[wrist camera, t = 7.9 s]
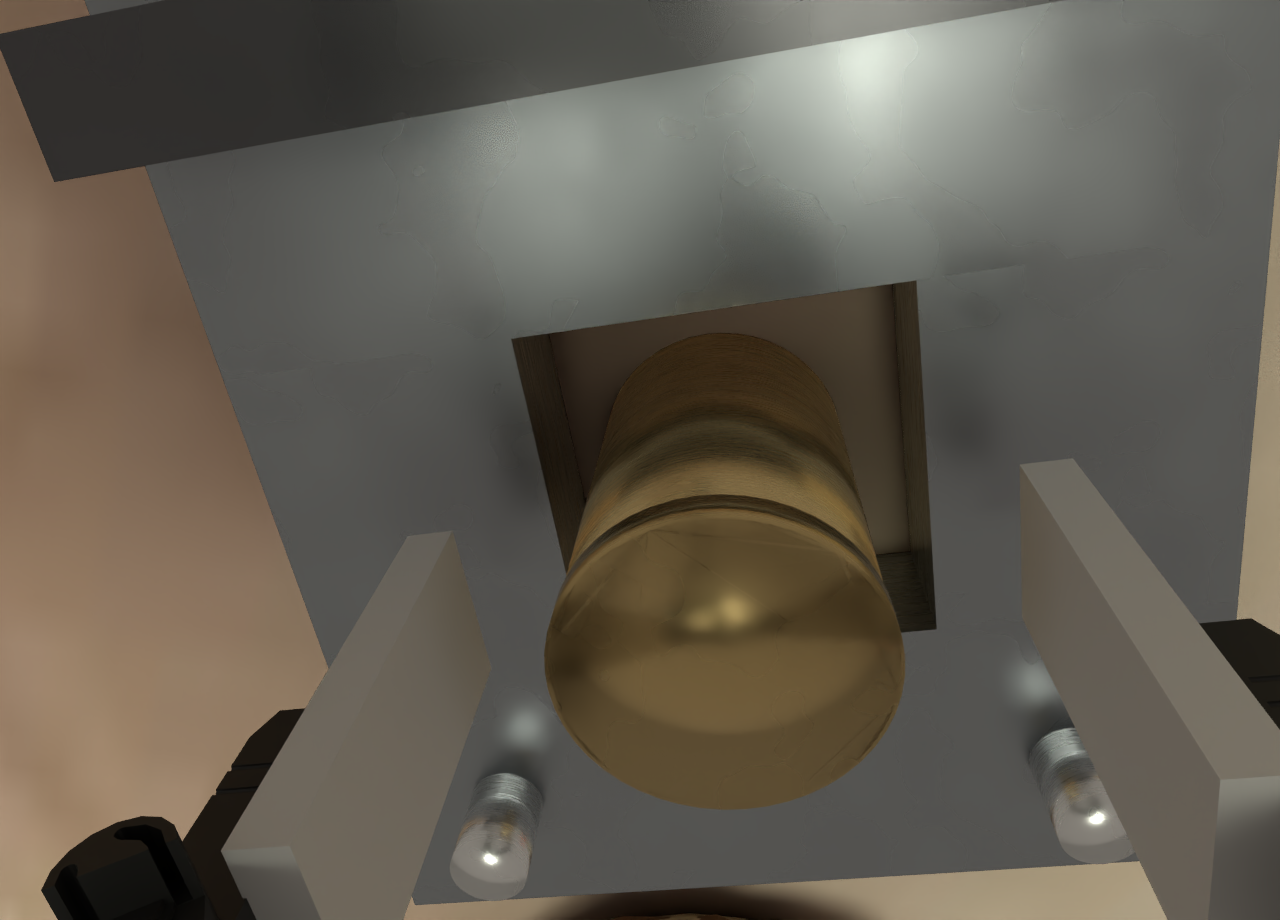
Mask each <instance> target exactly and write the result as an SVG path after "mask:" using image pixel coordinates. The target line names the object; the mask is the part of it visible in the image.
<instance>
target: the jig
mask: <svg viewBox="0 0 1280 920" xmlns="http://www.w3.org/2000/svg"><path fill="white" fill-rule="evenodd" d="M85 3H86V6H87V8H88V11H89V14H90V16H85V17H80V18H75V19H70V20H65V21H61V22H56V23H51V24H46V25H41V26H36V27H31V28H27V29H22V30H17V31H12V32H7V33H2V34H0V49H1V51H2V54H3V56H4V59H5V61H6V64H7V66H8V69H9V71H10V74H11V76H12V79H13V81H14V84H15V86H16V89H17V91H18V94H19V96H20V98H21V101H22V103H23V106H24V108H25V111H26V113H27V116H28V118H29V121H30V123H31V126H32V128H33V131H34V133H35V136H36V138H37V140H38V143H39V145H40V148H41V150H42V153H43V155H44V158H45V160H46V163H47V165H48V168H49V170H50V173H51V175H52V178H53V180H54V182H58V181H63V180H69V179H74V178H80V177H86V176H91V175H97V174H102V173H108V172H113V171H119V170H124V169H130V168H136V167H141V166H145V167H146V170H147V173H148V175H149V178H150V181H151V184H152V186H153V189H154V192H155V194H156V197H157V200H158V203H159V205H160V208H161V211H162V214H163V216H164V219H165V222H166V225H167V227H168V230H169V233H170V236H171V238H172V241H173V244H174V246H175V249H176V252H177V255H178V257H179V260H180V263H181V266H182V268H183V271H184V274H185V277H186V279H187V282H188V285H189V288H190V290H191V293H192V296H193V298H194V301H195V304H196V307H197V309H198V312H199V315H200V318H201V320H202V323H203V326H204V329H205V331H206V334H207V337H208V340H209V342H210V345H211V348H212V350H213V353H214V356H215V359H216V361H217V364H218V367H219V370H220V372H221V375H222V378H223V381H224V383H225V386H226V389H227V392H228V394H229V397H230V400H231V402H232V405H233V408H234V411H235V413H236V416H237V419H238V422H239V424H240V427H241V430H242V433H243V435H244V438H245V441H246V444H247V446H248V449H249V452H250V454H251V457H252V460H253V463H254V465H255V468H256V471H257V474H258V476H259V479H260V482H261V485H262V487H263V490H264V493H265V496H266V498H267V501H268V504H269V506H270V509H271V512H272V515H273V517H274V520H275V523H276V526H277V528H278V531H279V534H280V537H281V539H282V542H283V545H284V548H285V550H286V553H287V556H288V558H289V561H290V564H291V567H292V569H293V572H294V575H295V578H296V580H297V583H298V586H299V589H300V591H301V594H302V597H303V600H304V602H305V605H306V608H307V610H308V613H309V616H310V619H311V621H312V624H313V627H314V630H315V632H316V635H317V638H318V641H319V643H320V646H321V649H322V652H323V654H324V657H325V660H326V662H327V665H328V668H330V666H331V664H332V663H333V661H334V659H335V658H336V656H337V654H338V653H339V651H340V649H341V648H342V646H343V644H344V643H345V641H346V639H347V638H348V636H349V634H350V632H351V631H352V629H353V627H354V626H355V624H356V622H357V621H358V619H359V617H360V616H361V614H362V612H363V611H364V609H365V607H366V606H367V604H368V602H369V600H370V599H371V597H372V595H373V594H374V592H375V590H376V589H377V587H378V585H379V584H380V582H381V580H382V579H383V577H384V575H385V574H386V572H387V570H388V568H389V567H390V565H391V563H392V562H393V560H394V558H395V557H396V555H397V553H398V552H399V550H400V548H401V547H402V545H403V543H404V542H405V540H406V538H407V536H411V535H420V534H428V533H437V532H446V531H453V535H454V538H455V542H456V545H457V549H458V552H459V556H460V559H461V563H462V566H463V570H464V573H465V577H466V580H467V584H468V588H469V591H470V595H471V598H472V602H473V605H474V609H475V612H476V616H477V619H478V623H479V626H480V630H481V633H482V637H483V640H484V644H485V648H486V651H487V655H488V658H489V662H490V665H491V671H490V674H489V676H488V679H487V682H486V685H485V688H484V691H483V693H482V696H481V699H480V702H479V705H478V708H477V711H476V713H475V716H474V719H473V722H472V725H471V728H470V731H469V733H468V736H467V739H466V742H465V745H464V748H463V750H462V753H461V756H460V759H459V762H458V765H457V768H456V770H455V773H454V776H453V779H452V782H451V785H450V788H449V790H448V793H447V796H446V799H445V802H444V805H443V808H442V810H441V813H440V816H439V819H438V822H437V825H436V827H435V830H434V833H433V836H432V839H431V842H430V845H429V847H428V850H427V853H426V856H425V859H424V862H423V865H422V867H421V870H420V873H419V876H418V879H417V882H416V884H415V887H414V890H413V893H412V898H413V901H414V903H415V905H425V904H441V903H458V902H474V901H499V900H507V899H523V898H540V897H556V896H573V895H589V894H606V893H622V892H639V891H655V890H672V889H688V888H704V887H721V886H737V885H754V884H770V883H787V882H803V881H820V880H836V879H853V878H869V877H885V876H902V875H918V874H935V873H951V872H968V871H984V870H1001V869H1017V868H1034V867H1050V866H1066V865H1083V864H1107V863H1116V862H1132V861H1139V859H1138V857H1137V855H1136V853H1135V851H1134V849H1133V847H1132V845H1131V842H1130V840H1129V838H1128V836H1127V834H1126V832H1125V830H1124V828H1123V826H1122V824H1121V822H1120V820H1119V818H1118V815H1117V813H1116V811H1115V809H1114V807H1113V805H1112V803H1111V801H1110V799H1109V797H1108V795H1107V793H1106V791H1105V788H1104V786H1103V784H1102V782H1101V780H1100V778H1099V776H1098V774H1097V772H1096V770H1095V768H1094V766H1093V764H1092V762H1091V759H1090V757H1089V755H1088V753H1087V751H1086V749H1085V747H1084V745H1083V743H1082V741H1081V739H1080V737H1079V735H1078V732H1077V730H1076V728H1075V726H1074V724H1073V722H1072V720H1071V718H1070V716H1069V714H1068V712H1067V710H1066V708H1065V706H1064V703H1063V701H1062V699H1061V697H1060V695H1059V693H1058V691H1057V689H1056V687H1055V685H1054V683H1053V681H1052V679H1051V676H1050V674H1049V672H1048V670H1047V668H1046V666H1045V664H1044V662H1043V660H1042V658H1041V656H1040V654H1039V652H1038V649H1037V647H1036V645H1035V643H1034V641H1033V639H1032V637H1031V635H1030V633H1029V631H1028V629H1027V627H1026V625H1025V623H1024V620H1023V618H1022V578H1021V514H1020V464H1028V463H1037V462H1045V461H1054V460H1062V459H1071V458H1073V459H1074V460H1075V462H1076V463H1077V464H1078V466H1079V467H1080V468H1081V469H1082V471H1083V472H1084V473H1085V475H1086V476H1087V477H1088V479H1089V480H1090V481H1091V483H1092V484H1093V485H1094V487H1095V488H1096V489H1097V490H1098V492H1099V493H1100V494H1101V496H1102V497H1103V498H1104V500H1105V501H1106V502H1107V504H1108V505H1109V506H1110V508H1111V509H1112V510H1113V511H1114V513H1115V514H1116V515H1117V517H1118V518H1119V519H1120V521H1121V522H1122V523H1123V525H1124V526H1125V527H1126V529H1127V530H1128V531H1129V533H1130V534H1131V535H1132V536H1133V538H1134V539H1135V540H1136V542H1137V543H1138V544H1139V546H1140V547H1141V548H1142V550H1143V551H1144V552H1145V554H1146V555H1147V556H1148V557H1149V559H1150V560H1151V561H1152V563H1153V564H1154V565H1155V567H1156V568H1157V569H1158V571H1159V572H1160V573H1161V575H1162V576H1163V577H1164V578H1165V580H1166V581H1167V582H1168V584H1169V585H1170V586H1171V588H1172V589H1173V590H1174V592H1175V593H1176V594H1177V596H1178V597H1179V598H1180V599H1181V601H1182V602H1183V603H1184V605H1185V606H1186V607H1187V609H1188V610H1189V611H1190V613H1191V614H1192V615H1193V617H1194V618H1195V619H1196V620H1197V622H1198V623H1207V622H1218V621H1229V620H1236V618H1237V607H1238V595H1239V584H1240V573H1241V562H1242V551H1243V540H1244V529H1245V517H1246V506H1247V495H1248V484H1249V473H1250V462H1251V451H1252V440H1253V428H1254V417H1255V406H1256V395H1257V384H1258V373H1259V362H1260V350H1261V339H1262V328H1263V317H1264V306H1265V295H1266V284H1267V273H1268V261H1269V250H1270V239H1271V228H1272V217H1273V206H1274V195H1275V183H1276V172H1277V161H1278V150H1279V139H1280V0H85ZM887 284H892V286H893V301H894V315H895V330H896V345H897V359H898V374H899V389H900V403H901V418H902V433H903V448H904V462H905V477H906V492H907V506H908V521H909V536H910V550H911V552H903V553H893V554H884V555H876V558H877V562H878V565H879V569H880V572H881V576H882V580H883V583H884V585H885V587H886V588H887V590H888V592H889V595H890V598H891V601H892V604H893V607H894V610H895V613H896V617H897V620H898V624H899V628H900V631H901V635H902V639H903V646H904V652H905V679H904V685H903V691H902V696H901V699H900V702H899V705H898V708H897V711H896V714H895V716H894V718H893V720H892V721H891V723H890V725H889V727H888V729H887V731H886V732H885V734H884V735H883V737H882V738H881V739H880V741H879V742H878V744H877V745H876V746H875V748H874V749H873V750H872V751H871V752H870V753H869V754H868V755H867V756H866V757H865V758H864V759H863V760H862V761H861V762H860V763H859V764H858V765H856V766H855V767H854V768H853V769H851V770H850V771H849V772H848V773H846V774H845V775H844V776H842V777H840V778H839V779H837V780H836V781H834V782H832V783H831V784H829V785H827V786H825V787H823V788H821V789H819V790H817V791H815V792H813V793H811V794H809V795H806V796H803V797H800V798H797V799H794V800H791V801H788V802H784V803H780V804H776V805H771V806H767V807H759V808H751V809H735V810H719V809H706V808H698V807H692V806H686V805H680V804H677V803H673V802H670V801H666V800H662V799H659V798H656V797H654V796H651V795H649V794H646V793H644V792H641V791H639V790H637V789H635V788H633V787H631V786H629V785H627V784H625V783H623V782H622V781H620V780H618V779H617V778H615V777H614V776H612V775H611V774H609V773H608V772H606V771H605V770H603V769H602V768H601V767H600V766H599V765H598V764H596V763H595V762H594V761H593V760H592V759H591V758H589V757H588V756H587V755H586V754H585V753H584V751H583V750H582V749H581V748H580V747H579V746H578V745H577V744H576V743H575V742H574V740H573V739H572V737H571V736H570V735H569V733H568V732H567V730H566V729H565V727H564V726H563V724H562V722H561V720H560V718H559V716H558V714H557V713H556V711H555V709H554V706H553V703H552V700H551V697H550V694H549V691H548V687H547V682H546V676H545V664H544V650H545V643H546V636H547V631H548V627H549V624H550V620H551V617H552V613H553V609H554V606H555V603H556V600H557V596H558V593H559V590H560V588H561V586H562V584H563V582H564V580H565V578H566V575H567V571H568V568H569V564H570V560H571V557H572V553H573V549H574V546H575V542H576V538H577V535H578V531H579V527H580V524H581V520H582V516H583V513H584V509H585V505H586V503H585V498H584V493H583V489H582V484H581V480H580V475H579V470H578V466H577V461H576V457H575V452H574V448H573V443H572V438H571V434H570V429H569V425H568V420H567V415H566V411H565V406H564V402H563V397H562V392H561V388H560V383H559V379H558V374H557V369H556V365H555V360H554V356H553V351H552V346H551V342H550V337H549V333H555V332H562V331H569V330H576V329H582V328H589V327H596V326H603V325H610V324H617V323H624V322H631V321H638V320H645V319H652V318H659V317H666V316H672V315H679V314H686V313H693V312H700V311H707V310H714V309H721V308H728V307H735V306H742V305H749V304H756V303H763V302H769V301H776V300H783V299H790V298H797V297H804V296H811V295H818V294H825V293H832V292H839V291H846V290H853V289H859V288H866V287H873V286H880V285H887Z"/></svg>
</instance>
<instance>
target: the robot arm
mask: <svg viewBox="0 0 1280 920" xmlns="http://www.w3.org/2000/svg"><path fill="white" fill-rule="evenodd" d="M1020 514H1021V578H1022V618H1023V620H1024V623H1025V625H1026V627H1027V629H1028V631H1029V633H1030V635H1031V637H1032V639H1033V641H1034V643H1035V645H1036V647H1037V649H1038V652H1039V654H1040V656H1041V658H1042V660H1043V662H1044V664H1045V666H1046V668H1047V670H1048V672H1049V674H1050V676H1051V679H1052V681H1053V683H1054V685H1055V687H1056V689H1057V691H1058V693H1059V695H1060V697H1061V699H1062V701H1063V703H1064V706H1065V708H1066V710H1067V712H1068V714H1069V716H1070V718H1071V720H1072V722H1073V724H1074V726H1075V728H1076V730H1077V732H1078V735H1079V737H1080V739H1081V741H1082V743H1083V745H1084V747H1085V749H1086V751H1087V753H1088V755H1089V757H1090V759H1091V762H1092V764H1093V766H1094V768H1095V770H1096V772H1097V774H1098V776H1099V778H1100V780H1101V782H1102V784H1103V786H1104V788H1105V791H1106V793H1107V795H1108V797H1109V799H1110V801H1111V803H1112V805H1113V807H1114V809H1115V811H1116V813H1117V815H1118V818H1119V820H1120V822H1121V824H1122V826H1123V828H1124V830H1125V832H1126V834H1127V836H1128V838H1129V840H1130V842H1131V845H1132V847H1133V849H1134V851H1135V853H1136V855H1137V857H1138V859H1139V861H1140V863H1141V865H1142V867H1143V869H1144V871H1145V874H1146V876H1147V878H1148V880H1149V882H1150V884H1151V886H1152V888H1153V890H1154V892H1155V894H1156V896H1157V898H1158V901H1159V903H1160V905H1161V907H1162V909H1163V911H1164V913H1165V915H1166V917H1167V919H1168V920H1280V635H1279V634H1277V633H1275V632H1274V631H1272V630H1270V629H1268V628H1267V627H1265V626H1263V625H1261V624H1260V623H1258V622H1256V621H1254V620H1253V619H1240V620H1229V621H1218V622H1207V623H1198V622H1197V620H1196V619H1195V618H1194V617H1193V615H1192V614H1191V613H1190V611H1189V610H1188V609H1187V607H1186V606H1185V605H1184V603H1183V602H1182V601H1181V599H1180V598H1179V597H1178V596H1177V594H1176V593H1175V592H1174V590H1173V589H1172V588H1171V586H1170V585H1169V584H1168V582H1167V581H1166V580H1165V578H1164V577H1163V576H1162V575H1161V573H1160V572H1159V571H1158V569H1157V568H1156V567H1155V565H1154V564H1153V563H1152V561H1151V560H1150V559H1149V557H1148V556H1147V555H1146V554H1145V552H1144V551H1143V550H1142V548H1141V547H1140V546H1139V544H1138V543H1137V542H1136V540H1135V539H1134V538H1133V536H1132V535H1131V534H1130V533H1129V531H1128V530H1127V529H1126V527H1125V526H1124V525H1123V523H1122V522H1121V521H1120V519H1119V518H1118V517H1117V515H1116V514H1115V513H1114V511H1113V510H1112V509H1111V508H1110V506H1109V505H1108V504H1107V502H1106V501H1105V500H1104V498H1103V497H1102V496H1101V494H1100V493H1099V492H1098V490H1097V489H1096V488H1095V487H1094V485H1093V484H1092V483H1091V481H1090V480H1089V479H1088V477H1087V476H1086V475H1085V473H1084V472H1083V471H1082V469H1081V468H1080V467H1079V466H1078V464H1077V463H1076V462H1075V460H1074V459H1073V458H1071V459H1062V460H1054V461H1045V462H1037V463H1028V464H1020ZM490 671H491V665H490V662H489V658H488V655H487V651H486V648H485V644H484V640H483V637H482V633H481V630H480V626H479V623H478V619H477V616H476V612H475V609H474V605H473V602H472V598H471V595H470V591H469V588H468V584H467V580H466V577H465V573H464V570H463V566H462V563H461V559H460V556H459V552H458V549H457V545H456V542H455V538H454V535H453V531H446V532H437V533H428V534H420V535H411V536H407V538H406V540H405V542H404V543H403V545H402V547H401V548H400V550H399V552H398V553H397V555H396V557H395V558H394V560H393V562H392V563H391V565H390V567H389V568H388V570H387V572H386V574H385V575H384V577H383V579H382V580H381V582H380V584H379V585H378V587H377V589H376V590H375V592H374V594H373V595H372V597H371V599H370V600H369V602H368V604H367V606H366V607H365V609H364V611H363V612H362V614H361V616H360V617H359V619H358V621H357V622H356V624H355V626H354V627H353V629H352V631H351V632H350V634H349V636H348V638H347V639H346V641H345V643H344V644H343V646H342V648H341V649H340V651H339V653H338V654H337V656H336V658H335V659H334V661H333V663H332V664H331V666H330V668H329V669H328V671H327V673H326V675H325V676H324V678H323V680H322V681H321V683H320V685H319V686H318V688H317V690H316V691H315V693H314V695H313V696H312V698H311V700H310V701H309V703H308V705H307V707H306V708H303V709H293V710H282V711H279V712H278V713H277V714H276V715H274V716H273V717H272V718H271V719H270V720H269V721H268V722H266V723H265V724H264V725H263V726H262V727H261V728H260V729H259V730H257V731H256V732H255V733H254V734H253V735H252V736H251V737H250V738H249V739H248V741H247V742H246V744H245V745H244V747H243V748H242V750H241V752H240V753H239V755H238V756H237V758H236V759H235V761H234V762H233V764H232V766H231V767H232V770H231V771H228V772H227V773H226V775H225V776H224V778H223V779H222V781H221V783H220V784H219V786H218V787H217V789H216V791H217V792H216V795H212V796H211V798H210V800H209V801H208V803H207V804H206V806H205V807H204V809H203V810H202V812H201V813H200V815H199V817H198V818H197V820H196V821H195V823H194V824H193V826H192V827H191V829H190V830H189V832H188V834H187V835H186V837H185V838H184V840H183V841H182V840H181V838H180V836H179V834H178V832H177V830H176V828H175V826H174V824H172V823H170V822H169V821H167V820H165V819H164V818H162V817H148V816H140V817H136V818H133V819H129V820H125V821H121V822H117V823H115V824H113V825H111V826H109V827H107V828H105V829H103V830H100V831H98V832H96V833H94V834H92V835H91V836H89V837H88V838H87V839H85V840H84V841H82V842H81V843H80V844H78V845H77V846H76V847H74V848H73V849H71V850H70V851H69V852H68V853H67V854H66V855H65V856H64V857H63V858H62V859H61V860H60V861H59V862H58V864H57V865H56V866H55V867H54V868H53V869H52V870H51V871H50V873H49V875H48V877H47V879H46V882H45V884H44V886H43V888H42V890H41V891H42V893H43V895H44V896H45V898H46V900H47V902H48V903H49V905H50V907H51V909H52V910H53V912H54V914H55V915H56V917H57V919H58V920H403V919H404V916H405V913H406V910H407V907H408V904H409V902H410V899H411V896H412V893H413V890H414V887H415V884H416V882H417V879H418V876H419V873H420V870H421V867H422V865H423V862H424V859H425V856H426V853H427V850H428V847H429V845H430V842H431V839H432V836H433V833H434V830H435V827H436V825H437V822H438V819H439V816H440V813H441V810H442V808H443V805H444V802H445V799H446V796H447V793H448V790H449V788H450V785H451V782H452V779H453V776H454V773H455V770H456V768H457V765H458V762H459V759H460V756H461V753H462V750H463V748H464V745H465V742H466V739H467V736H468V733H469V731H470V728H471V725H472V722H473V719H474V716H475V713H476V711H477V708H478V705H479V702H480V699H481V696H482V693H483V691H484V688H485V685H486V682H487V679H488V676H489V674H490Z"/></svg>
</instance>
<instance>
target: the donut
mask: <svg viewBox="0 0 1280 920" xmlns="http://www.w3.org/2000/svg"><path fill="white" fill-rule="evenodd" d="M610 920H748V919H745V918H737V917H726V916H720V915H717V914H716V915H704V914H693V913H686V914H676V915H665V916H655V917H647V916H621V917H617V918H614V919H610ZM774 920H777V919H774Z"/></svg>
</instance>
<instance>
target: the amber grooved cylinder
mask: <svg viewBox="0 0 1280 920" xmlns="http://www.w3.org/2000/svg"><path fill="white" fill-rule="evenodd" d="M544 664H545V676H546V682H547V687H548V691H549V694H550V697H551V700H552V703H553V706H554V709H555V711H556V713H557V714H558V716H559V718H560V720H561V722H562V724H563V726H564V727H565V729H566V730H567V732H568V733H569V735H570V736H571V737H572V739H573V740H574V742H575V743H576V744H577V745H578V746H579V747H580V748H581V749H582V750H583V751H584V753H585V754H586V755H587V756H588V757H589V758H591V759H592V760H593V761H594V762H595V763H596V764H598V765H599V766H600V767H601V768H602V769H603V770H605V771H606V772H608V773H609V774H611V775H612V776H614V777H615V778H617V779H618V780H620V781H622V782H623V783H625V784H627V785H629V786H631V787H633V788H635V789H637V790H639V791H641V792H644V793H646V794H649V795H651V796H654V797H656V798H659V799H662V800H666V801H670V802H673V803H677V804H680V805H686V806H692V807H698V808H706V809H719V810H735V809H751V808H759V807H767V806H771V805H776V804H780V803H784V802H788V801H791V800H794V799H797V798H800V797H803V796H806V795H809V794H811V793H813V792H815V791H817V790H819V789H821V788H823V787H825V786H827V785H829V784H831V783H832V782H834V781H836V780H837V779H839V778H840V777H842V776H844V775H845V774H846V773H848V772H849V771H850V770H851V769H853V768H854V767H855V766H856V765H858V764H859V763H860V762H861V761H862V760H863V759H864V758H865V757H866V756H867V755H868V754H869V753H870V752H871V751H872V750H873V749H874V748H875V746H876V745H877V744H878V742H879V741H880V739H881V738H882V737H883V735H884V734H885V732H886V731H887V729H888V727H889V725H890V723H891V721H892V720H893V718H894V716H895V714H896V711H897V708H898V705H899V702H900V699H901V696H902V691H903V685H904V679H905V652H904V646H903V639H902V635H901V631H900V628H899V624H898V620H897V617H896V613H895V610H894V607H893V604H892V601H891V598H890V595H889V592H888V590H887V588H886V587H885V585H884V583H883V580H882V576H881V572H880V569H879V565H878V562H877V558H876V554H875V551H874V547H873V543H872V540H871V536H870V533H869V529H868V525H867V522H866V518H865V514H864V511H863V507H862V504H861V500H860V496H859V493H858V489H857V485H856V482H855V478H854V474H853V471H852V467H851V464H850V460H849V456H848V453H847V449H846V445H845V442H844V438H843V435H842V431H841V427H840V424H839V420H838V416H837V413H836V410H835V407H834V404H833V401H832V399H831V397H830V395H829V393H828V391H827V389H826V388H825V386H824V385H823V383H822V382H821V381H820V379H819V378H818V376H817V375H816V374H815V373H814V372H813V371H812V370H811V369H810V368H809V367H808V366H807V365H806V364H805V363H804V362H803V361H801V360H800V359H799V358H798V357H797V356H795V355H794V354H792V353H790V352H789V351H787V350H786V349H784V348H782V347H780V346H778V345H776V344H774V343H771V342H769V341H766V340H763V339H760V338H756V337H753V336H747V335H741V334H730V333H717V334H705V335H700V336H695V337H691V338H688V339H685V340H682V341H679V342H676V343H674V344H672V345H670V346H668V347H666V348H664V349H662V350H660V351H658V352H657V353H655V354H654V355H653V356H651V357H650V358H648V359H647V360H646V361H645V362H644V363H642V364H641V365H640V366H639V367H638V368H637V369H636V370H635V371H634V372H633V374H632V375H631V376H630V377H629V378H628V379H627V381H626V382H625V384H624V385H623V387H622V389H621V390H620V392H619V394H618V396H617V398H616V400H615V402H614V405H613V408H612V411H611V414H610V418H609V421H608V425H607V429H606V432H605V436H604V440H603V443H602V447H601V451H600V454H599V458H598V462H597V465H596V469H595V473H594V476H593V480H592V483H591V487H590V491H589V494H588V498H587V502H586V505H585V509H584V513H583V516H582V520H581V524H580V527H579V531H578V535H577V538H576V542H575V546H574V549H573V553H572V557H571V560H570V564H569V568H568V571H567V575H566V578H565V580H564V582H563V584H562V586H561V588H560V590H559V593H558V596H557V600H556V603H555V606H554V609H553V613H552V617H551V620H550V624H549V627H548V631H547V636H546V643H545V650H544Z"/></svg>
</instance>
